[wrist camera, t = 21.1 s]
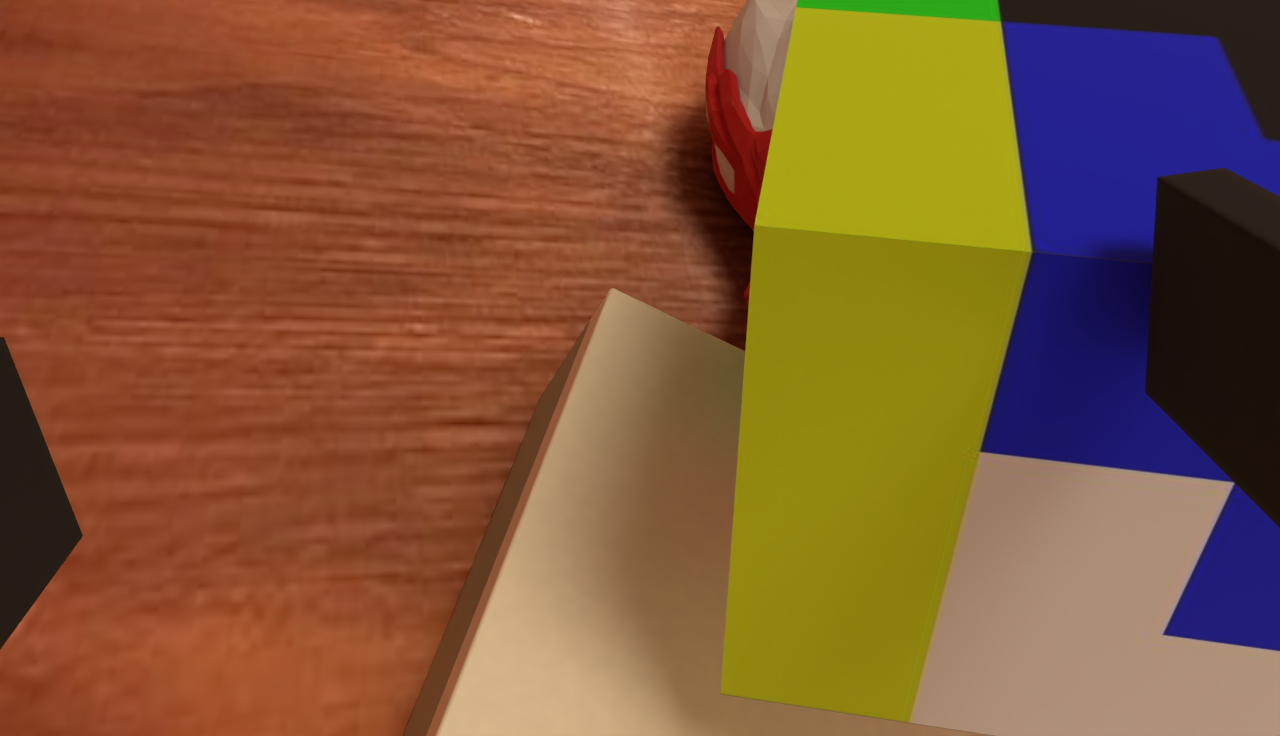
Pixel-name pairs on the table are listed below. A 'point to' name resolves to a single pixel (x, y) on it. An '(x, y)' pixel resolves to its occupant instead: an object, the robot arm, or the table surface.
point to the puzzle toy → (995, 376)
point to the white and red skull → (746, 99)
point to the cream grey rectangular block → (615, 557)
